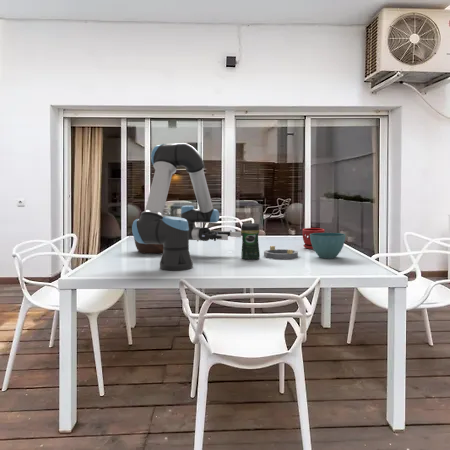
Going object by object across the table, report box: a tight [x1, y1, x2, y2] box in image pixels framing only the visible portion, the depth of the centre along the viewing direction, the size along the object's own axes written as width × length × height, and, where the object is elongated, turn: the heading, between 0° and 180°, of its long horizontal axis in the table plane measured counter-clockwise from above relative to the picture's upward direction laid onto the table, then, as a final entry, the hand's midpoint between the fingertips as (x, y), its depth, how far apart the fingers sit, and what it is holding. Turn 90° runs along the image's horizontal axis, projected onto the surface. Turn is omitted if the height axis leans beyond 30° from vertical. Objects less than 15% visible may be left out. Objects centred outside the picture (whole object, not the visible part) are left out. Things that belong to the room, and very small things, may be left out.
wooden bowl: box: [133, 238, 163, 255], centre depth 236 cm, size 25×25×10 cm
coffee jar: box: [240, 222, 261, 261], centre depth 207 cm, size 10×8×19 cm
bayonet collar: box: [263, 245, 299, 260], centre depth 215 cm, size 18×18×4 cm
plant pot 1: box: [302, 227, 325, 250], centre depth 244 cm, size 13×13×12 cm
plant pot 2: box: [310, 232, 347, 259], centre depth 211 cm, size 18×18×12 cm
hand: (234, 236), depth 213 cm, fingers open, 13 cm apart
